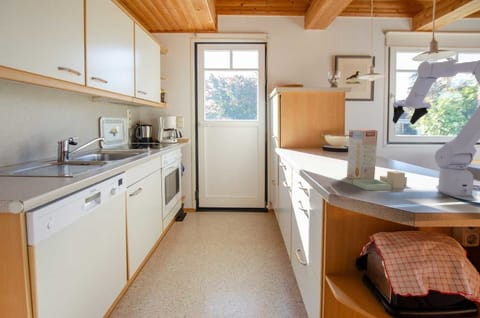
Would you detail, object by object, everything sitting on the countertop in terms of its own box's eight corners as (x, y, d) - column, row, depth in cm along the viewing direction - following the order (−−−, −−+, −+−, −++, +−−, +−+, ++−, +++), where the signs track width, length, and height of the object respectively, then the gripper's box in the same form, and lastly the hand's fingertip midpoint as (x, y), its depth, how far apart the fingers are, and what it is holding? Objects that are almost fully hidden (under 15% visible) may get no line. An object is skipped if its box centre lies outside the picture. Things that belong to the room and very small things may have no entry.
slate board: (412, 190, 110) (412, 188, 110) (391, 190, 110) (392, 188, 109) (398, 185, 118) (398, 183, 118) (379, 186, 117) (379, 184, 117)
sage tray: (390, 191, 108) (391, 184, 108) (366, 192, 108) (366, 185, 107) (375, 185, 118) (375, 179, 118) (352, 186, 117) (353, 179, 117)
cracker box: (375, 185, 118) (378, 130, 116) (359, 185, 118) (362, 130, 116) (360, 178, 132) (363, 128, 130) (346, 178, 132) (348, 128, 129)
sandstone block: (403, 188, 110) (404, 172, 109) (393, 188, 109) (394, 173, 109) (396, 186, 114) (397, 171, 113) (386, 186, 113) (387, 171, 113)
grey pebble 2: (406, 185, 115) (406, 177, 115) (400, 185, 114) (401, 177, 114) (399, 183, 118) (399, 175, 118) (393, 184, 117) (394, 176, 116)
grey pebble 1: (390, 185, 115) (391, 177, 114) (382, 185, 115) (382, 177, 115) (387, 183, 118) (388, 176, 117) (379, 183, 118) (380, 175, 117)
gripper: (430, 88, 123) (414, 118, 131) (396, 86, 121) (382, 116, 130) (440, 97, 117) (423, 127, 126) (404, 95, 116) (389, 125, 124)
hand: (402, 122), depth 128 cm, fingers open, 7 cm apart
